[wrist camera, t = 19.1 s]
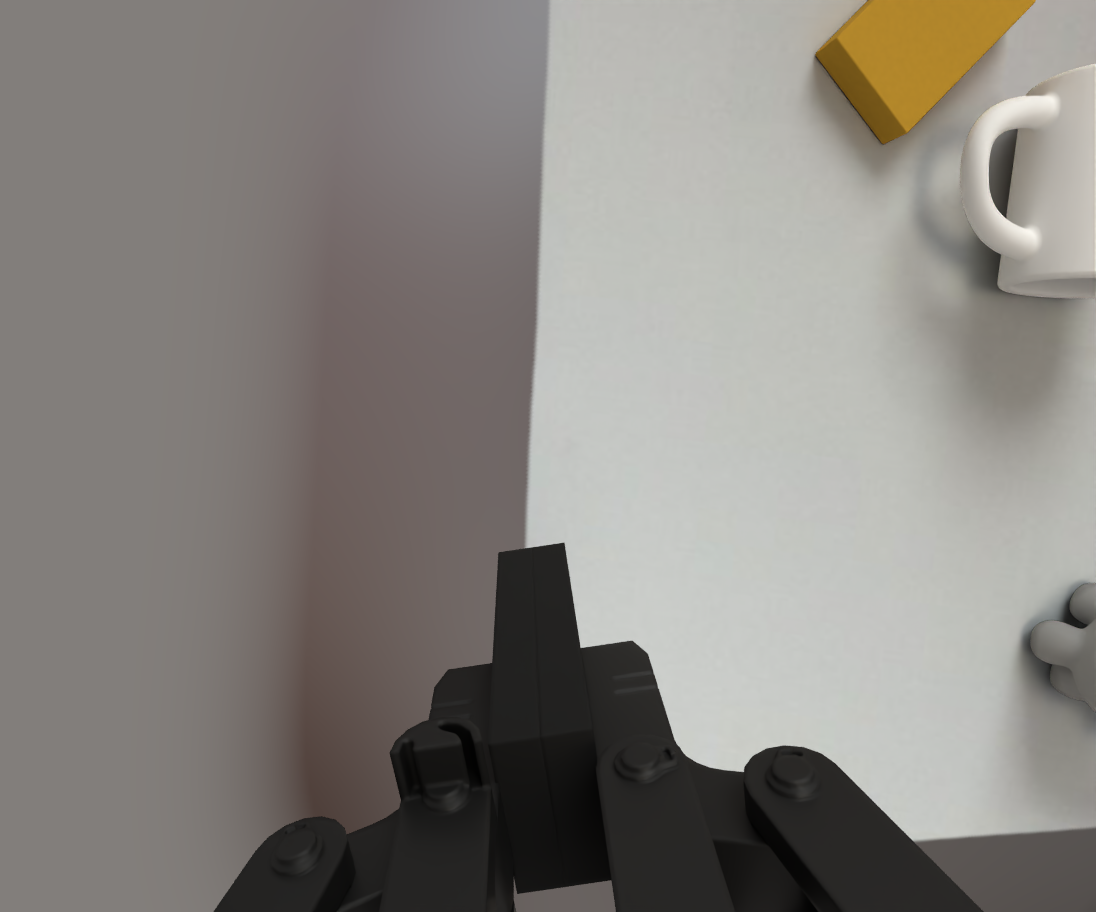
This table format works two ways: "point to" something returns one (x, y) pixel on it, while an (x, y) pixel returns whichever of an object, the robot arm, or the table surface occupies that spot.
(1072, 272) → the mug
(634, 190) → the table surface
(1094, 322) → the table surface
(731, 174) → the table surface
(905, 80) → the ochre rectangular brick
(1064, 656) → the round bodied animal figurine
